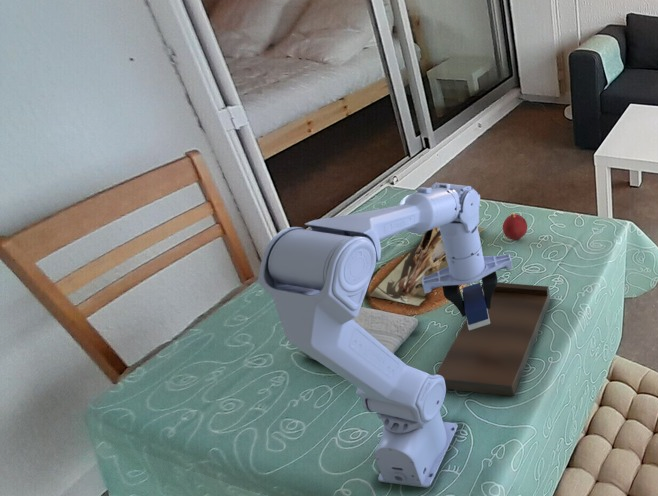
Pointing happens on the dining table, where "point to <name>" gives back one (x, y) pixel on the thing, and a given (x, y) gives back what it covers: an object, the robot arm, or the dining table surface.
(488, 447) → the dining table surface
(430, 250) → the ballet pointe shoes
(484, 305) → the trainer
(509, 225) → the onion
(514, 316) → the shoe shelf
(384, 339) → the washcloth
